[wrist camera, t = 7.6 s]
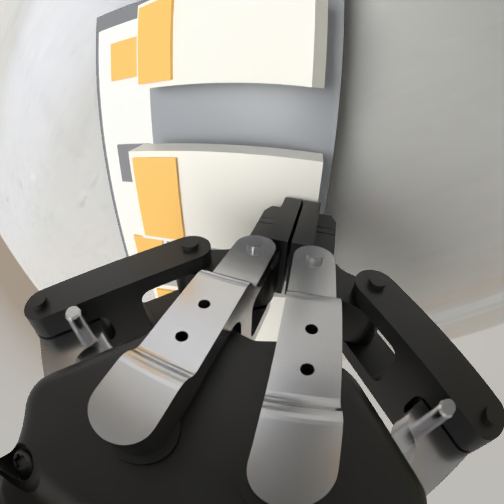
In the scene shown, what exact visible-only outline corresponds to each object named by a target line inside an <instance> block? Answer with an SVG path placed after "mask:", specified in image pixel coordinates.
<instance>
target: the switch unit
mask: <svg viewBox="0 0 504 504" xmlns="http://www.w3.org/2000/svg"><path fill="white" fill-rule="evenodd" d="M147 1H149V0H142V1H139V2H136V3H133V4H130V5H127V6H125V7H122V8H120V9H117V10H114V11H112V12H110V13H107V14H105V15H103V16H100V17H98V18H97V27H96V75H97V93H98V106H99V117H100V126H101V134H102V142H103V149H104V156H105V162H106V168H107V174H108V179H109V184H110V189H111V194H112V199H113V204H114V208H115V213H116V217H117V221H118V225H119V229H120V233H121V237H122V241H123V245H124V248H125V252H126V256H127V257H129V256H131V255H134V254H137V253H140V252H142V251H145V250H148V249H151V248H154V247H157V246H159V245H162V244H165V243H168V242H169V241H162V240H156V239H149V238H143V234H142V230H141V225H140V220H139V215H138V210H137V204H136V199H135V193H134V187H133V181H132V174H131V168H130V160H129V153H128V152H129V151H131V150H132V149H134V148H136V147H138V146H140V145H142V144H160V143H201V144H229V145H246V146H259V147H271V148H281V149H290V150H299V151H307V152H314V153H322V154H323V168H322V176H321V183H320V191H319V198H318V202H319V203H321V207H320V213H319V214H324V213H325V207H326V201H327V195H328V188H329V182H330V175H331V168H332V161H333V153H334V145H335V137H336V128H337V119H338V110H339V99H340V87H341V74H342V59H343V38H344V0H328V28H327V53H326V71H325V86H324V88H314V87H305V86H295V85H283V84H267V83H201V84H185V85H174V86H164V87H155V88H148V89H141V90H138V88H137V15H138V5H140V4H142V3H145V2H147ZM211 250H221V249H216V248H211ZM286 280H287V277H286ZM286 280H285V281H286Z"/></svg>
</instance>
